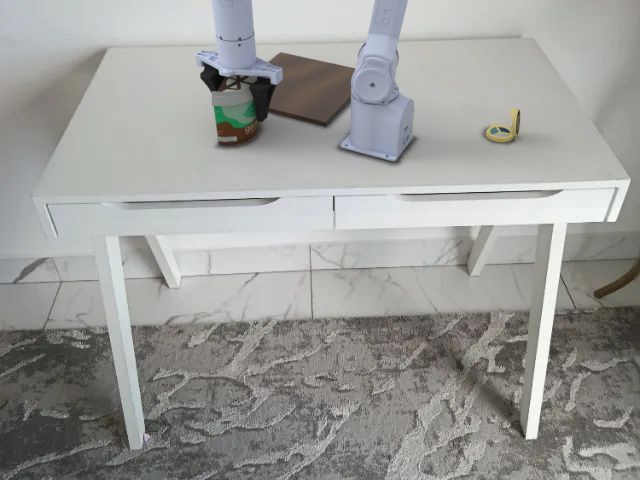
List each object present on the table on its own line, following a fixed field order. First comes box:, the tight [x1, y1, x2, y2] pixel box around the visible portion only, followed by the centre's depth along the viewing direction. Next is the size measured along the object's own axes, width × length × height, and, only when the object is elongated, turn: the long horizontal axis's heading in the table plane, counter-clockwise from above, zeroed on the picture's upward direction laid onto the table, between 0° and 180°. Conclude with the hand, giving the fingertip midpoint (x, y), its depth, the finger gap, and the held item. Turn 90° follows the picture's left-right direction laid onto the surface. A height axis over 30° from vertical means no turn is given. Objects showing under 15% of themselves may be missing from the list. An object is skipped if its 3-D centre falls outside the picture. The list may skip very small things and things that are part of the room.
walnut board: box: [268, 51, 356, 127], centre depth 119 cm, size 20×20×1 cm
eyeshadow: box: [485, 107, 521, 143], centre depth 105 cm, size 4×5×5 cm
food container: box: [211, 75, 259, 147], centre depth 105 cm, size 12×6×10 cm, turn 168°
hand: (243, 114), depth 106 cm, fingers closed on food container, 7 cm apart
